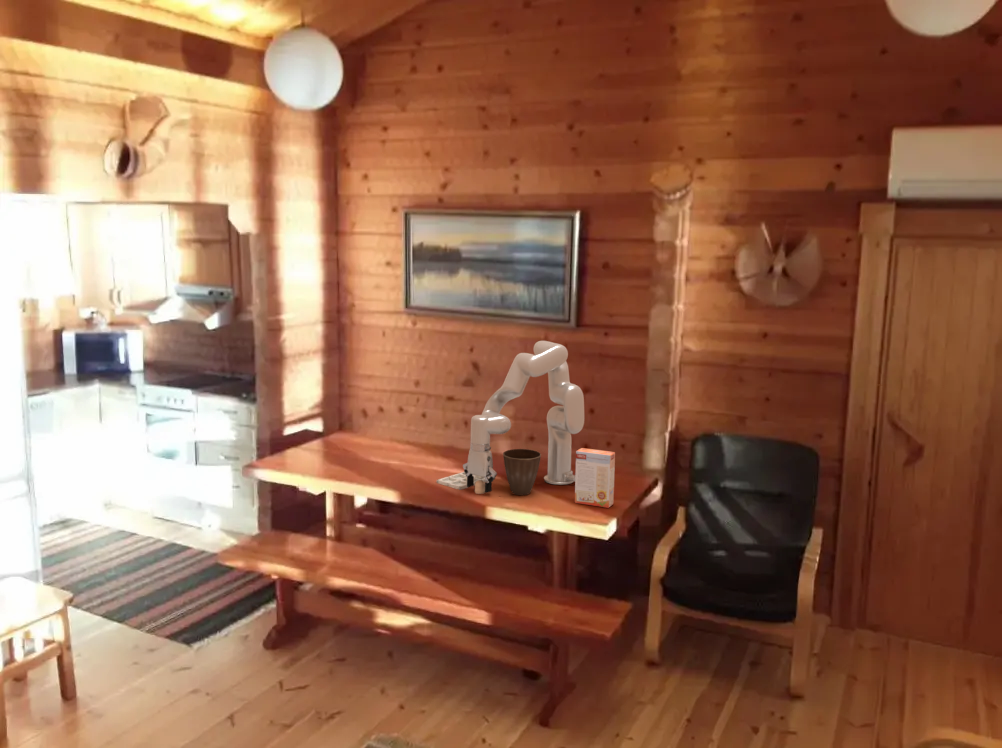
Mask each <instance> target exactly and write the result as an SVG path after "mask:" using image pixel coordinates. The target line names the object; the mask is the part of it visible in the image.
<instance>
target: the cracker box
mask: <svg viewBox="0 0 1002 748" xmlns="http://www.w3.org/2000/svg"><path fill="white" fill-rule="evenodd" d="M615 463H616V452H615V451H608V450H603V449H602V450H601V449H592V448H584V447H581V448H579V449H578V450H576V451H575V473H574V475H575V481H574V482H575V483H574V484H575V485H574V503H575V504H581V505H587V506H588V505H589V506H594V507H601V508H606V509H609V508H611V506H613V505H614V495H615V471H616V470H615V467H616V465H615Z"/></svg>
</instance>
